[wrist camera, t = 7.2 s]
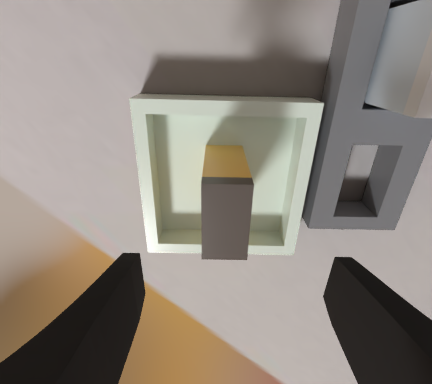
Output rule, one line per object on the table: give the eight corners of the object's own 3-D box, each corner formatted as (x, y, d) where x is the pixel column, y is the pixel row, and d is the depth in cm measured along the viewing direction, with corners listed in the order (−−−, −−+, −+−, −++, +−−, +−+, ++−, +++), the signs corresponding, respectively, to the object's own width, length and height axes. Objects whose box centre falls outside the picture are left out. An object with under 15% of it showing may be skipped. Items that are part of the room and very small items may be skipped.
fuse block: (457, -14, 14) (497, -26, 12) (377, 213, 20) (394, 229, 18) (344, -17, 14) (365, -30, 12) (299, 211, 20) (308, 228, 18)
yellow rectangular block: (242, 145, 17) (253, 184, 12) (238, 203, 19) (246, 259, 14) (205, 144, 17) (201, 184, 12) (205, 203, 19) (201, 259, 14)
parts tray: (310, 97, 16) (324, 103, 14) (286, 235, 21) (293, 254, 19) (140, 93, 16) (128, 98, 14) (154, 233, 21) (147, 252, 19)
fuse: (414, 15, 14) (530, -11, 9) (388, 99, 16) (471, 119, 11) (370, 14, 14) (461, -13, 9) (350, 98, 16) (414, 117, 11)
